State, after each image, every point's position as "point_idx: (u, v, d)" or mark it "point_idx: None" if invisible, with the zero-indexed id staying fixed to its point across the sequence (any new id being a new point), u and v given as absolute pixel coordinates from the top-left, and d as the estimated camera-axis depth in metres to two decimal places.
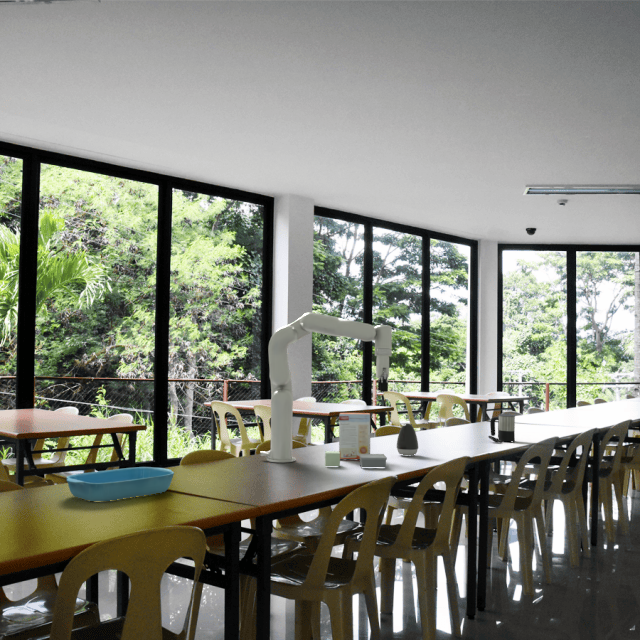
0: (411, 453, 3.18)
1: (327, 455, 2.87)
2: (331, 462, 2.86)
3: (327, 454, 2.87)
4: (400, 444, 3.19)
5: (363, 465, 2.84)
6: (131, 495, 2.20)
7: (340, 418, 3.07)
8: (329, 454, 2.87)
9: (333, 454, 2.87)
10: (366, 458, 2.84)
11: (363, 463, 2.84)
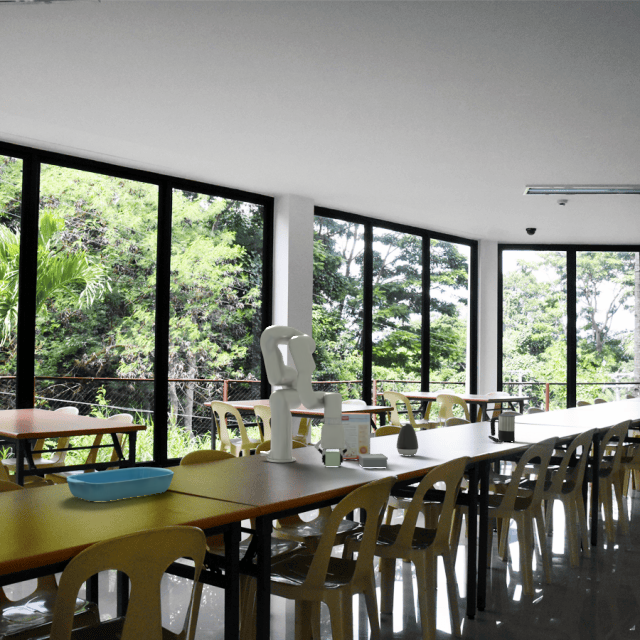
0: (411, 453, 3.18)
1: (327, 455, 2.87)
2: (331, 462, 2.86)
3: (327, 454, 2.87)
4: (399, 444, 3.19)
5: (364, 465, 2.83)
6: (131, 495, 2.20)
7: None
8: (329, 454, 2.87)
9: (333, 454, 2.87)
10: (367, 458, 2.84)
11: (364, 463, 2.83)
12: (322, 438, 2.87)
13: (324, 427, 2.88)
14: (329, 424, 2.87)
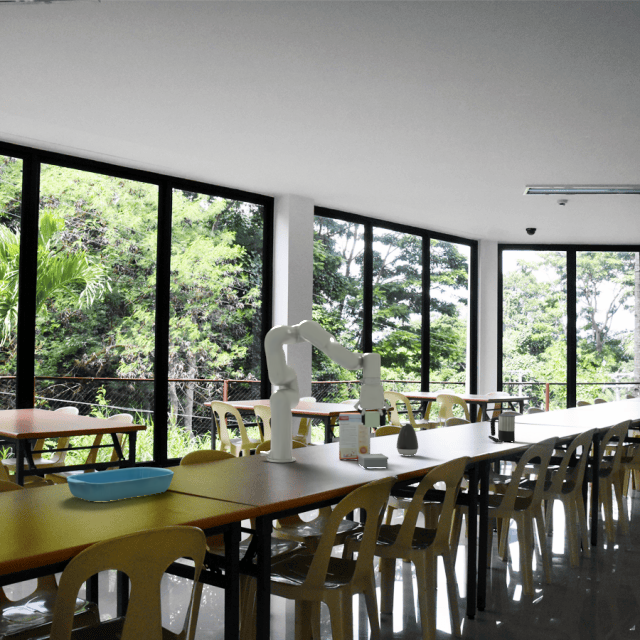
0: (411, 453, 3.18)
1: (367, 415, 2.87)
2: (371, 421, 2.87)
3: (367, 414, 2.87)
4: (400, 444, 3.19)
5: (365, 465, 2.83)
6: (132, 495, 2.20)
7: (340, 418, 3.07)
8: (369, 413, 2.87)
9: (373, 413, 2.87)
10: (368, 458, 2.83)
11: (365, 463, 2.83)
12: (361, 398, 2.88)
13: (363, 387, 2.88)
14: (368, 384, 2.87)
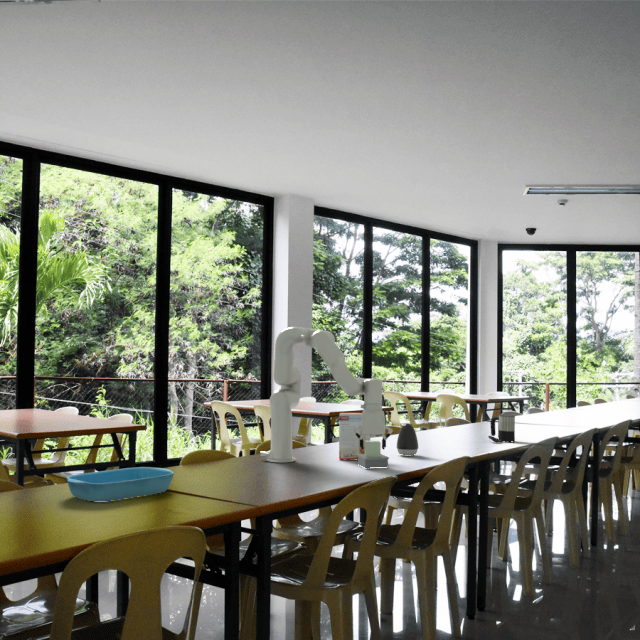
0: (411, 453, 3.18)
1: (368, 444, 2.86)
2: (372, 451, 2.86)
3: (368, 443, 2.86)
4: (400, 444, 3.19)
5: (366, 465, 2.83)
6: (132, 495, 2.20)
7: (340, 418, 3.07)
8: (370, 443, 2.86)
9: (374, 443, 2.86)
10: (369, 458, 2.83)
11: (366, 463, 2.83)
12: (363, 424, 2.87)
13: (365, 413, 2.88)
14: (370, 410, 2.87)
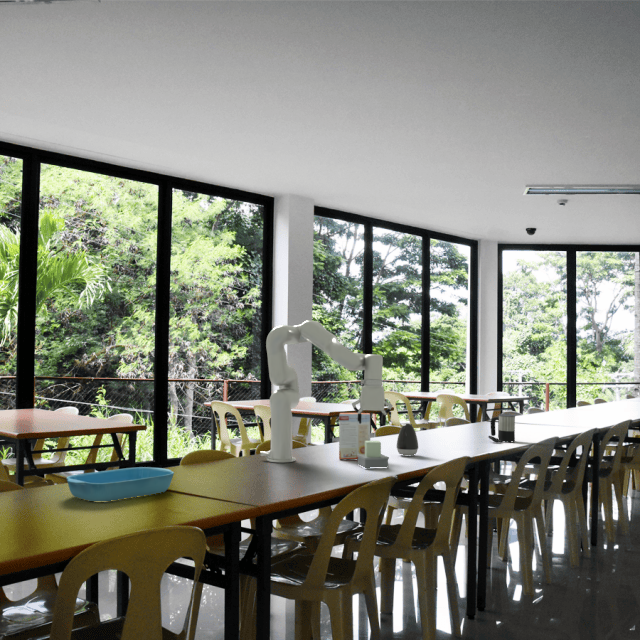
0: (411, 453, 3.18)
1: (368, 444, 2.86)
2: (372, 451, 2.86)
3: (368, 443, 2.86)
4: (399, 444, 3.19)
5: (366, 465, 2.83)
6: (132, 495, 2.20)
7: (340, 418, 3.07)
8: (370, 443, 2.86)
9: (374, 443, 2.86)
10: (369, 458, 2.83)
11: (366, 463, 2.83)
12: (362, 399, 2.88)
13: (364, 388, 2.88)
14: (370, 385, 2.87)
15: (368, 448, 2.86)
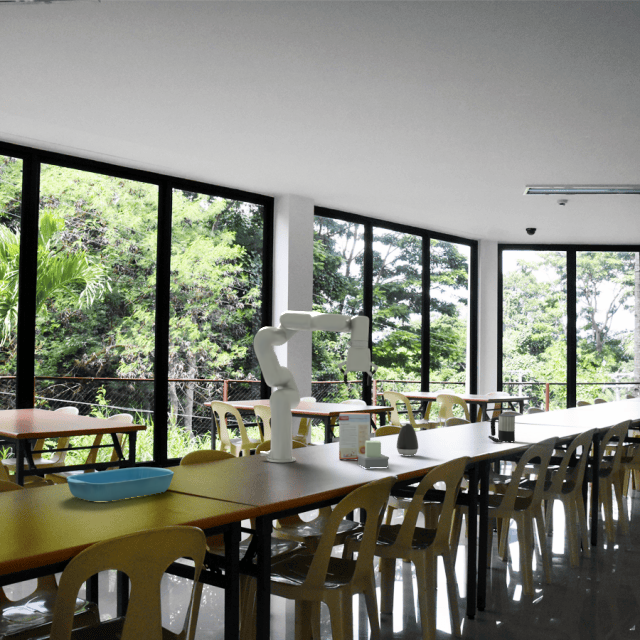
0: (411, 453, 3.18)
1: (368, 444, 2.86)
2: (372, 451, 2.86)
3: (368, 443, 2.86)
4: (399, 444, 3.19)
5: (366, 465, 2.83)
6: (132, 495, 2.20)
7: (340, 418, 3.07)
8: (370, 443, 2.86)
9: (374, 443, 2.86)
10: (369, 458, 2.83)
11: (366, 463, 2.83)
12: (348, 360, 2.89)
13: (350, 349, 2.89)
14: (356, 346, 2.88)
15: (368, 448, 2.86)
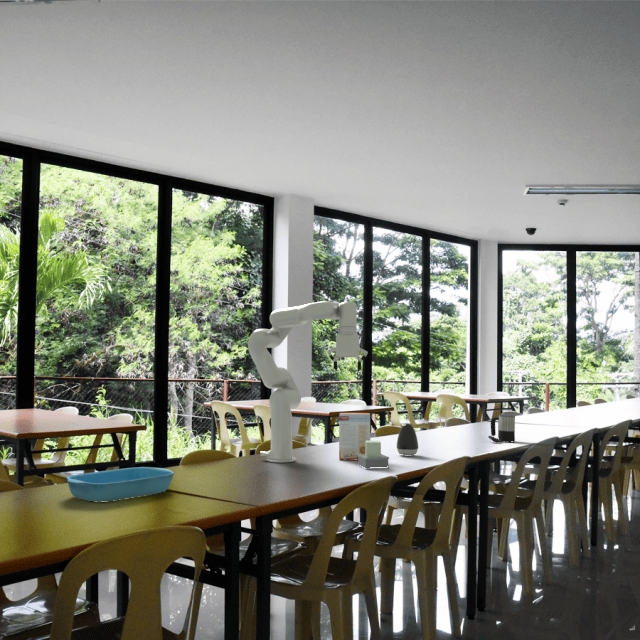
0: (411, 453, 3.18)
1: (368, 444, 2.86)
2: (372, 451, 2.86)
3: (368, 443, 2.86)
4: (399, 444, 3.19)
5: (366, 465, 2.83)
6: (132, 495, 2.20)
7: (340, 418, 3.07)
8: (370, 443, 2.86)
9: (374, 443, 2.86)
10: (369, 458, 2.83)
11: (366, 463, 2.83)
12: (337, 346, 2.89)
13: (339, 335, 2.90)
14: (344, 332, 2.89)
15: (368, 448, 2.86)
